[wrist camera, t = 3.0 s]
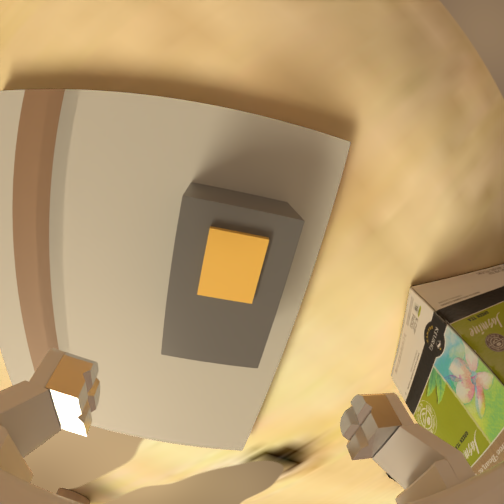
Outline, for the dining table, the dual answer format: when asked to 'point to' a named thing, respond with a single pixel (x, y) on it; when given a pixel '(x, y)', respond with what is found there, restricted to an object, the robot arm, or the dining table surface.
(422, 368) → the tea box
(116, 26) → the dining table surface
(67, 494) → the coffee cup
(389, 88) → the dining table surface
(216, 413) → the floor panel
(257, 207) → the grey rectangular block
